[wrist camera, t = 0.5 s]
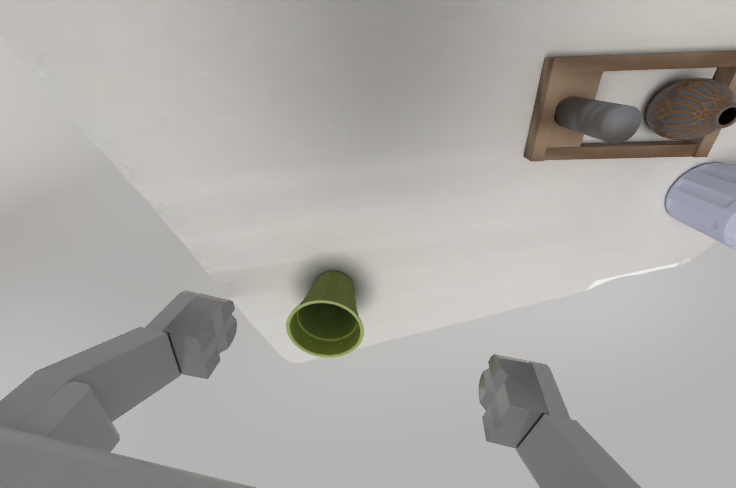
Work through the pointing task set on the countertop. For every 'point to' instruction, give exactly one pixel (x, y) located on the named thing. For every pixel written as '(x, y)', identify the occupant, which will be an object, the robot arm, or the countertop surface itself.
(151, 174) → the countertop surface
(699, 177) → the soap bottle
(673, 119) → the vase
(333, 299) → the plant pot
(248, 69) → the countertop surface
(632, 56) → the strip frame
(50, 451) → the robot arm
